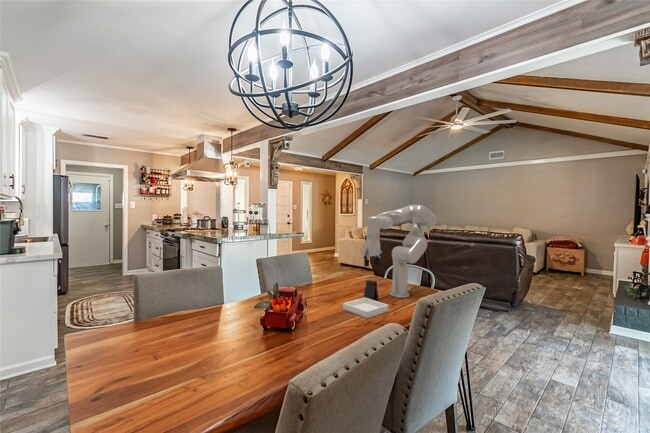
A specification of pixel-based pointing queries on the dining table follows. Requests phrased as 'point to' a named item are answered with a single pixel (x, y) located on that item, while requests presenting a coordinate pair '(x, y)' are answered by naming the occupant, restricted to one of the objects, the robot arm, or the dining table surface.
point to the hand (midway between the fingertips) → (371, 265)
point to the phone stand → (371, 290)
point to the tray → (365, 307)
